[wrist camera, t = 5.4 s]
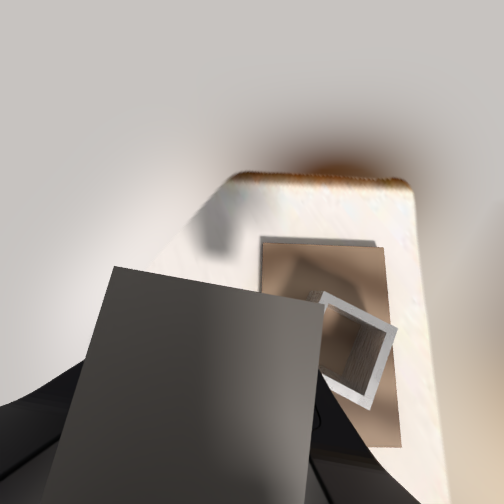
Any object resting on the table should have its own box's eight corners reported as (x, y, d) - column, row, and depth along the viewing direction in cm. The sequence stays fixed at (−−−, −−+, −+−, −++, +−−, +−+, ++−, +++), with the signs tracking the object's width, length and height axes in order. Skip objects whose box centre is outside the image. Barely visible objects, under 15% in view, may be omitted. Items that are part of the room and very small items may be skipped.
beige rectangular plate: (394, 440, 21) (401, 447, 20) (258, 438, 20) (258, 445, 19) (378, 249, 24) (383, 247, 23) (262, 244, 24) (263, 242, 23)
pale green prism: (254, 340, 15) (296, 577, 3) (208, 331, 15) (31, 528, 3) (261, 293, 16) (325, 304, 3) (217, 285, 16) (114, 266, 3)
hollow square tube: (345, 387, 20) (369, 410, 17) (282, 353, 21) (290, 368, 17) (370, 321, 22) (397, 328, 18) (309, 290, 22) (324, 290, 18)
